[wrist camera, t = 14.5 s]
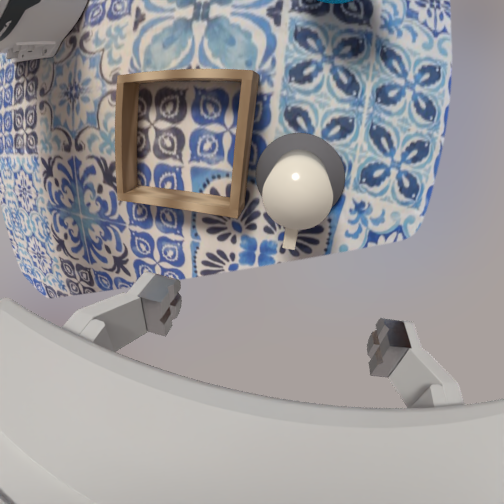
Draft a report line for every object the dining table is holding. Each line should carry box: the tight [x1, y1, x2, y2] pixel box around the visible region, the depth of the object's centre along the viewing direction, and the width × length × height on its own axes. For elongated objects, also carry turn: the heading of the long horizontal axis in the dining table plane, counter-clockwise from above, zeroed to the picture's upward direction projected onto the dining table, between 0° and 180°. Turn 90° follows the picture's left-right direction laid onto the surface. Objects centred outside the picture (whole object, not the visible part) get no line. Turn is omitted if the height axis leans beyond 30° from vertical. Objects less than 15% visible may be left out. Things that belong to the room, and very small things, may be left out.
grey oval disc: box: [256, 133, 345, 208], centre depth 30 cm, size 10×10×1 cm
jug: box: [262, 149, 333, 250], centre depth 27 cm, size 9×6×8 cm
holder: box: [115, 69, 259, 218], centre depth 29 cm, size 16×16×4 cm
